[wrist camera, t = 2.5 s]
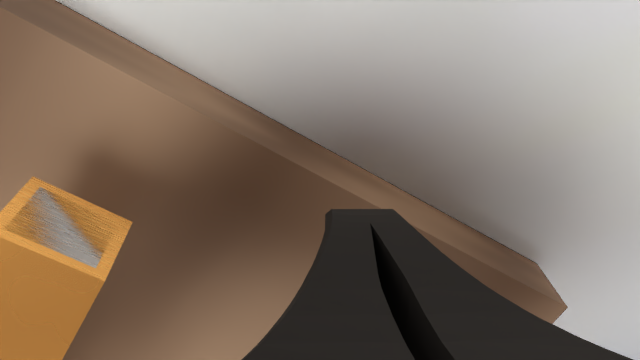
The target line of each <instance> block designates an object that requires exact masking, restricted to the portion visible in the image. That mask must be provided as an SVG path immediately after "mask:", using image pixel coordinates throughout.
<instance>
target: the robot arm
mask: <svg viewBox="0 0 640 360" xmlns="http://www.w3.org/2000/svg"><path fill="white" fill-rule="evenodd" d="M242 360H633V359H630V358H628V357H625V356H622V355H620V354H617V353H615V352H612V351H610V350H607V349H605V348H602V347H600V346H598V345H595V344H593V343H591V342H589V341H586V340H584V339H582V338H579V337H577V336H575V335H573V334H571V333H569V332H567V331H565V330H563V329H561V328H559V327H557V326H555V325H553V324H551V323H549V322H547V321H545V320H543V319H541V318H539V317H537V316H535V315H533V314H532V313H530V312H528V311H526V310H524V309H523V308H521V307H519V306H518V305H516V304H514V303H513V302H511V301H510V300H508V299H506V298H505V297H503V296H501V295H500V294H498V293H496V292H495V291H493V290H492V289H490V288H489V287H487V286H486V285H484V284H483V283H481V282H480V281H479V280H477V279H476V278H475V277H473V276H472V275H471V274H469V273H468V272H466V271H465V270H464V269H462V268H461V267H460V266H458V265H457V264H456V263H455V262H453V261H452V260H451V259H450V258H448V257H447V256H446V255H445V254H443V253H442V252H441V251H440V250H439V249H438V248H436V247H435V246H434V245H433V244H432V243H431V242H429V241H428V240H427V239H426V238H425V237H424V236H423V235H422V234H420V233H419V232H418V231H417V230H416V229H415V228H414V227H413V226H412V225H410V224H409V223H408V222H407V221H406V220H405V219H404V218H403V217H402V216H401V215H400V214H398V213H397V212H396V211H395V210H394V209H331V210H330V211H329V212H327V213H326V214H325V232H324V235H323V239H322V242H321V245H320V247H319V250H318V252H317V255H316V258H315V260H314V262H313V264H312V266H311V268H310V270H309V272H308V274H307V276H306V278H305V280H304V282H303V284H302V285H301V287H300V289H299V290H298V292H297V294H296V295H295V297H294V298H293V300H292V301H291V303H290V304H289V306H288V307H287V309H286V310H285V311H284V313H283V314H282V316H281V317H280V318H279V319H278V321H277V322H276V323H275V324H274V325H273V327H272V328H271V329H270V330H269V332H268V333H267V334H266V335H265V336H264V337H263V339H262V340H261V341H260V342H259V343H258V344H257V345H256V346H255V347H254V348H253V349H252V350H251V351H250V352H249V353H248V354H247V355H246V356H245V357H244V358H243V359H242Z"/></svg>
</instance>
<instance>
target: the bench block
mask: <svg viewBox="0 0 640 360" xmlns="http://www.w3.org/2000/svg"><path fill="white" fill-rule="evenodd" d="M32 177H36V178H38V179H40V180H42V181H44V182H46V183H49V184H51V185H53V186H55V187H57V188H60V189H62V190H64V191H66V192H68V193H70V194H73V195H75V196H77V197H79V198H81V199H84V200H86V201H88V202H90V203H92V204H94V205H97V206H99V207H101V208H103V209H105V210H108V211H110V212H112V213H114V214H116V215H118V216H121V217H123V218H125V219H127V220H129V221H132V222H133V223H132V225H131V227H130V229H129V231H128V233H127V235H126V237H125V240H124V242H123V244H122V246H121V248H120V250H119V252H118V254H117V257H116V259H115V261H114V263H113V265H112V267H111V269H110V271H109V274H108V276H107V278H106V280H105V282H104V284H103V286H102V287H101V289H100V291H99V293H98V295H97V297H96V298H95V300H94V302H93V304H92V306H91V308H90V310H89V311H88V313H87V315H86V317H85V319H84V321H83V322H82V324H81V326H80V328H79V330H78V332H77V333H76V335H75V337H74V339H73V341H72V343H71V344H70V346H69V348H68V350H67V352H66V354H65V355H64V357H63V359H62V360H242V359H243V358H244V357H245V356H246V355H247V354H248V353H249V352H250V351H251V350H252V349H253V348H254V347H255V346H256V345H257V344H258V343H259V342H260V341H261V340H262V339H263V337H264V336H265V335H266V334H267V333H268V332H269V330H270V329H271V328H272V327H273V325H274V324H275V323H276V322H277V321H278V319H279V318H280V317H281V316H282V314H283V313H284V311H285V310H286V309H287V307H288V306H289V304H290V303H291V301H292V300H293V298H294V297H295V295H296V294H297V292H298V290H299V289H300V287H301V285H302V284H303V282H304V280H305V278H306V276H307V274H308V272H309V270H310V268H311V266H312V264H313V262H314V260H315V258H316V255H317V252H318V250H319V247H320V245H321V242H322V239H323V235H324V232H325V214H326V213H327V212H329V211H330V210H331V209H394V210H395V211H396V212H397V213H398V214H400V215H401V216H402V217H403V218H404V219H405V220H406V221H407V222H408V223H409V224H410V225H412V226H413V227H414V228H415V229H416V230H417V231H418V232H419V233H420V234H422V235H423V236H424V237H425V238H426V239H427V240H428V241H429V242H431V243H432V244H433V245H434V246H435V247H436V248H438V249H439V250H440V251H441V252H442V253H443V254H445V255H446V256H447V257H448V258H450V259H451V260H452V261H453V262H455V263H456V264H457V265H458V266H460V267H461V268H462V269H464V270H465V271H466V272H468V273H469V274H471V275H472V276H473V277H475V278H476V279H477V280H479V281H480V282H481V283H483V284H484V285H486V286H487V287H489V288H490V289H492V290H493V291H495V292H496V293H498V294H500V295H501V296H503V297H505V298H506V299H508V300H510V301H511V302H513V303H514V304H516V305H518V306H519V307H521V308H523V309H524V310H526V311H528V312H530V313H532V314H533V315H535V316H537V317H539V318H541V319H543V320H545V321H547V322H549V323H551V324H553V323H554V321H555V320H556V319H557V318H558V317H559V316H560V315H561V314H562V313H563V312H564V311H565V310H566V309H567V308H568V307H567V306H566V304H565V303H564V301H563V300H562V299H561V297H560V296H559V294H558V293H557V292H556V290H555V289H554V287H553V286H552V284H551V283H550V282H549V280H548V279H547V277H546V276H545V275H544V273H543V272H542V270H541V269H540V267H539V266H538V265H537V264H536V263H535V262H533V261H531V260H529V259H527V258H525V257H524V256H522V255H520V254H518V253H516V252H514V251H513V250H511V249H509V248H507V247H505V246H503V245H502V244H500V243H498V242H496V241H494V240H492V239H491V238H489V237H487V236H485V235H483V234H481V233H480V232H478V231H476V230H474V229H472V228H470V227H469V226H467V225H465V224H463V223H461V222H460V221H458V220H456V219H454V218H452V217H450V216H449V215H447V214H445V213H443V212H441V211H439V210H438V209H436V208H434V207H432V206H430V205H428V204H427V203H425V202H423V201H421V200H419V199H417V198H416V197H414V196H412V195H410V194H408V193H406V192H405V191H403V190H401V189H399V188H397V187H395V186H394V185H392V184H390V183H388V182H386V181H384V180H383V179H381V178H379V177H377V176H375V175H373V174H372V173H370V172H368V171H366V170H364V169H362V168H361V167H359V166H357V165H355V164H353V163H351V162H350V161H348V160H346V159H344V158H342V157H341V156H339V155H337V154H335V153H333V152H331V151H330V150H328V149H326V148H324V147H322V146H320V145H319V144H317V143H315V142H313V141H311V140H309V139H308V138H306V137H304V136H302V135H300V134H298V133H297V132H295V131H293V130H291V129H289V128H287V127H286V126H284V125H282V124H280V123H278V122H276V121H275V120H273V119H271V118H269V117H267V116H265V115H264V114H262V113H260V112H258V111H256V110H254V109H253V108H251V107H249V106H247V105H245V104H243V103H242V102H240V101H238V100H236V99H234V98H232V97H231V96H229V95H227V94H225V93H223V92H221V91H220V90H218V89H216V88H214V87H212V86H211V85H209V84H207V83H205V82H203V81H201V80H200V79H198V78H196V77H194V76H192V75H190V74H189V73H187V72H185V71H183V70H181V69H179V68H178V67H176V66H174V65H172V64H170V63H168V62H167V61H165V60H163V59H161V58H159V57H157V56H156V55H154V54H152V53H150V52H148V51H146V50H145V49H143V48H141V47H139V46H137V45H135V44H134V43H132V42H130V41H128V40H126V39H124V38H123V37H121V36H119V35H117V34H115V33H113V32H112V31H110V30H108V29H106V28H104V27H102V26H101V25H99V24H97V23H95V22H93V21H92V20H90V19H88V18H86V17H84V16H82V15H81V14H79V13H77V12H75V11H73V10H71V9H70V8H68V7H66V6H64V5H62V4H60V3H59V2H57V1H55V0H0V212H1V211H2V209H3V208H4V207H5V206H6V205H7V204H8V203H9V202H10V201H11V200H12V199H13V197H14V196H15V195H16V194H17V193H18V192H19V191H20V190H21V189H22V188H23V187H24V185H25V184H26V183H27V182H28V181H29V180H30V179H31V178H32Z"/></svg>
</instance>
